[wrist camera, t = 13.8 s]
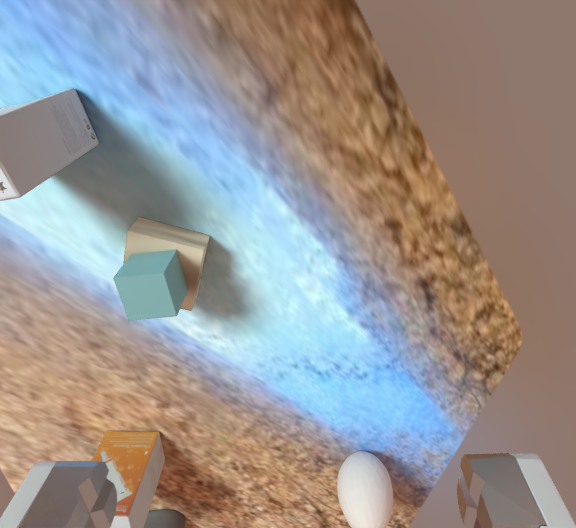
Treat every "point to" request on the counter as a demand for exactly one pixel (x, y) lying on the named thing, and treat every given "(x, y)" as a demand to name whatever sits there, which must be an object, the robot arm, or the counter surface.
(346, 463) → the egg
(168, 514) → the flask
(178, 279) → the teal cube
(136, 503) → the small box
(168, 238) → the maple block
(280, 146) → the counter surface
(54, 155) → the skincare box
